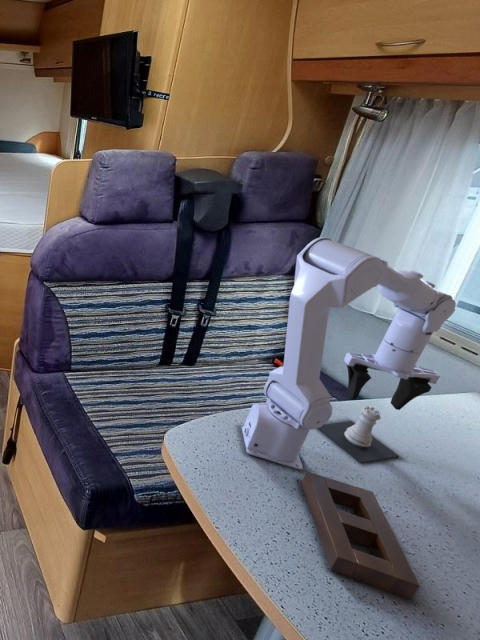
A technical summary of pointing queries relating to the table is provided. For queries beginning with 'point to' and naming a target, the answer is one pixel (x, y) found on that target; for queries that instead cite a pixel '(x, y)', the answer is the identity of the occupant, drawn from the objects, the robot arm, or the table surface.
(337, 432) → the pad
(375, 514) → the frame
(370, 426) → the rook chess piece
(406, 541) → the table surface
